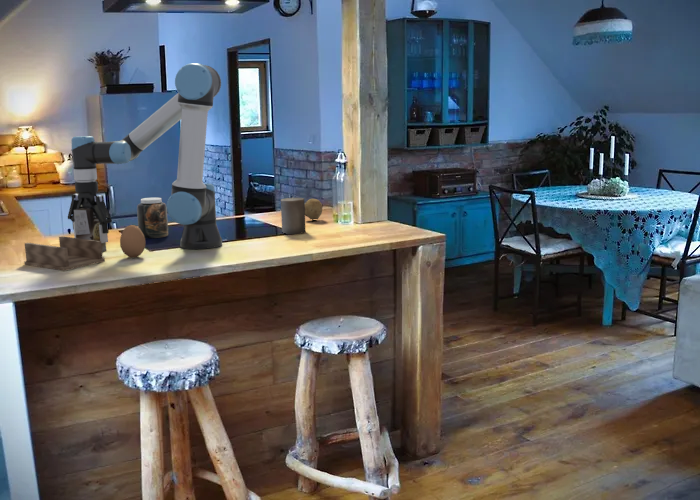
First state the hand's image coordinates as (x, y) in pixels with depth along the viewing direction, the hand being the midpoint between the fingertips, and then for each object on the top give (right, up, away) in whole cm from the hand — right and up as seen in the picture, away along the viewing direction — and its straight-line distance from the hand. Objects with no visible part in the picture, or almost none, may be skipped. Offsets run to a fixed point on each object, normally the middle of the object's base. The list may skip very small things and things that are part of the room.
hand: (91, 240), depth 251 cm
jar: (+13, +2, +33) cm, 36 cm away
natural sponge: (+75, +10, +66) cm, 101 cm away
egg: (+18, -6, -8) cm, 21 cm away
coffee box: (0, -4, +1) cm, 4 cm away
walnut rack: (-3, -7, -16) cm, 18 cm away
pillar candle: (+69, +4, +37) cm, 78 cm away
